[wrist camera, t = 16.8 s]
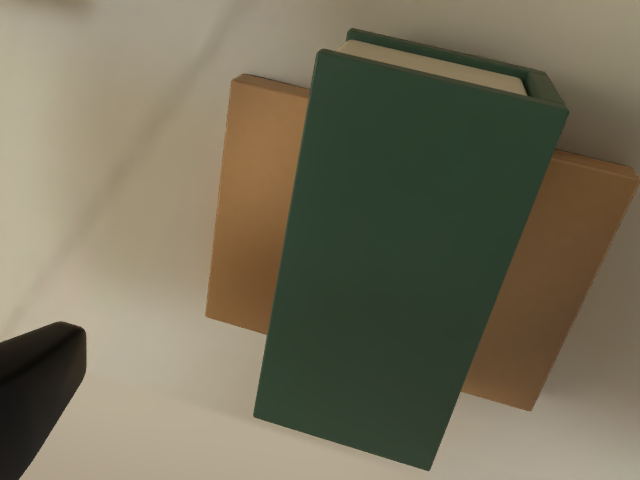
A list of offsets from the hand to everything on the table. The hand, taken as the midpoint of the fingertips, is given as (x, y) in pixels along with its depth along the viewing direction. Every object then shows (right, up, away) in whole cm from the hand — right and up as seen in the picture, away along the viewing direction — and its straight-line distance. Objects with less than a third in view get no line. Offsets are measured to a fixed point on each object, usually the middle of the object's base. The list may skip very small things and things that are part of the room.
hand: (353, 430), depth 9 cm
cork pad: (+1, +3, +6) cm, 7 cm away
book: (+1, +3, +5) cm, 6 cm away
